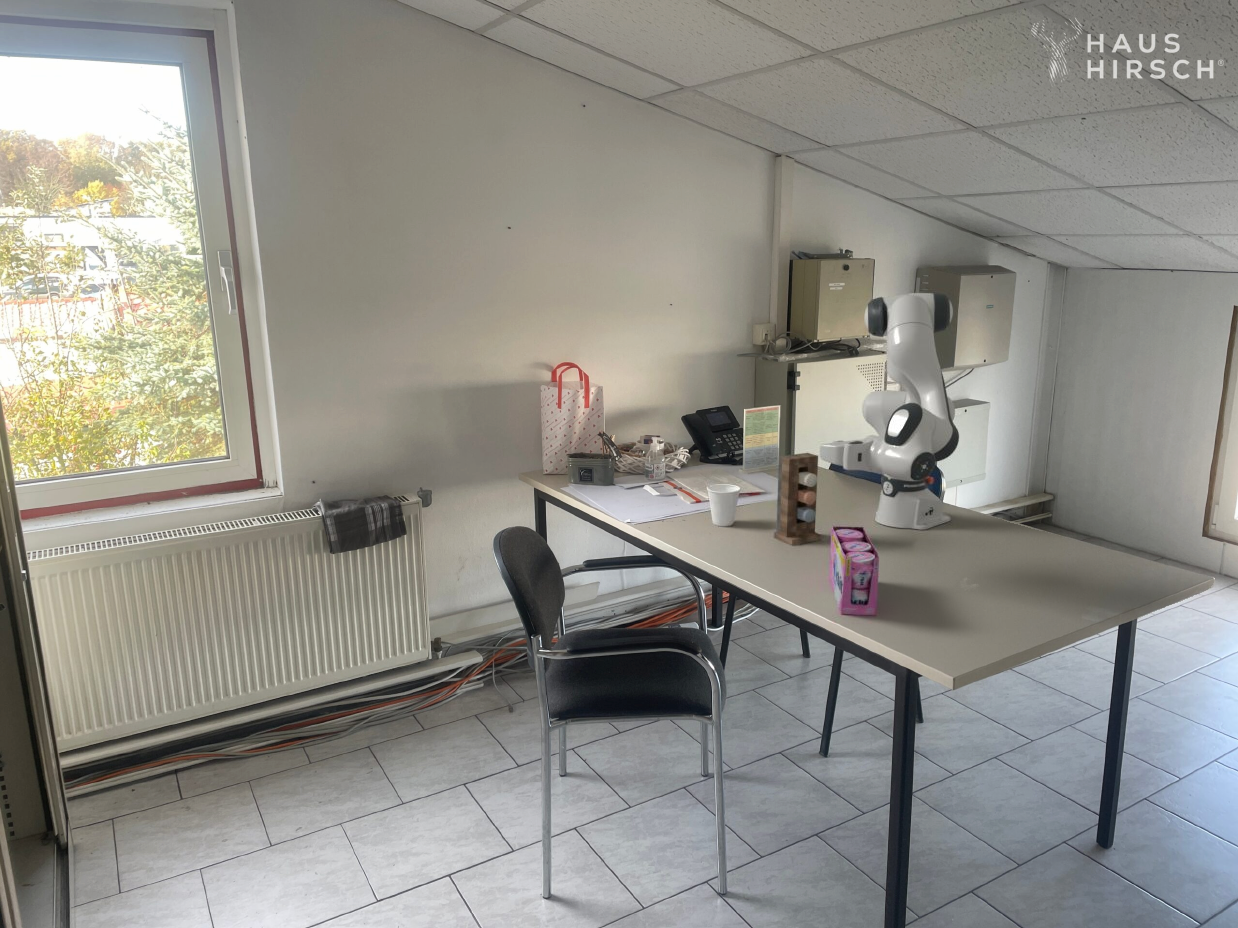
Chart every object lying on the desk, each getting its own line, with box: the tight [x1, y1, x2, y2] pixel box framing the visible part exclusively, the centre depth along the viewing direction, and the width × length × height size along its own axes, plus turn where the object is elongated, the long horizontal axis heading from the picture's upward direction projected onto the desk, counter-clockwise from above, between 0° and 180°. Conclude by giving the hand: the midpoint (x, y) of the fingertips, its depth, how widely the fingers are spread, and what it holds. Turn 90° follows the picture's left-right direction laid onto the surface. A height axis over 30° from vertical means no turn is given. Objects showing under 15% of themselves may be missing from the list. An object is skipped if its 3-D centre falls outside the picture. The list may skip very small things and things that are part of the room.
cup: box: [706, 483, 742, 527], centre depth 255 cm, size 10×10×11 cm
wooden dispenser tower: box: [773, 452, 822, 546], centre depth 239 cm, size 10×8×24 cm
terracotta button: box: [797, 489, 817, 505], centre depth 236 cm, size 4×4×4 cm
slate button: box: [797, 507, 817, 522], centre depth 237 cm, size 4×4×4 cm
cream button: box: [798, 472, 818, 487], centre depth 235 cm, size 4×4×4 cm
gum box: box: [829, 525, 880, 616], centre depth 198 cm, size 24×8×14 cm, turn 173°
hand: (836, 444), depth 223 cm, fingers closed
